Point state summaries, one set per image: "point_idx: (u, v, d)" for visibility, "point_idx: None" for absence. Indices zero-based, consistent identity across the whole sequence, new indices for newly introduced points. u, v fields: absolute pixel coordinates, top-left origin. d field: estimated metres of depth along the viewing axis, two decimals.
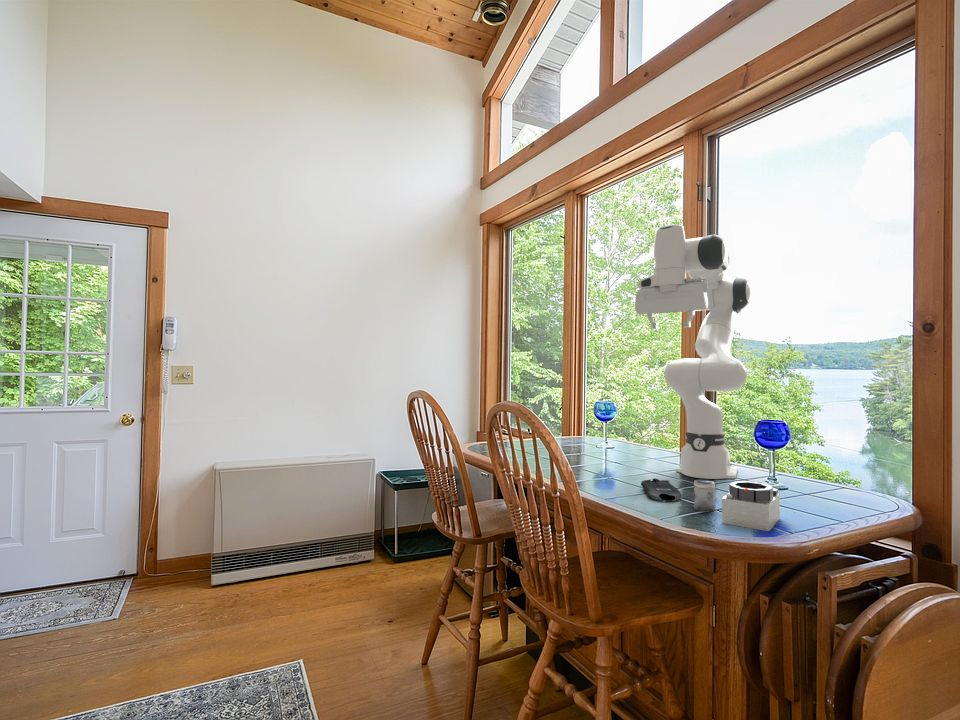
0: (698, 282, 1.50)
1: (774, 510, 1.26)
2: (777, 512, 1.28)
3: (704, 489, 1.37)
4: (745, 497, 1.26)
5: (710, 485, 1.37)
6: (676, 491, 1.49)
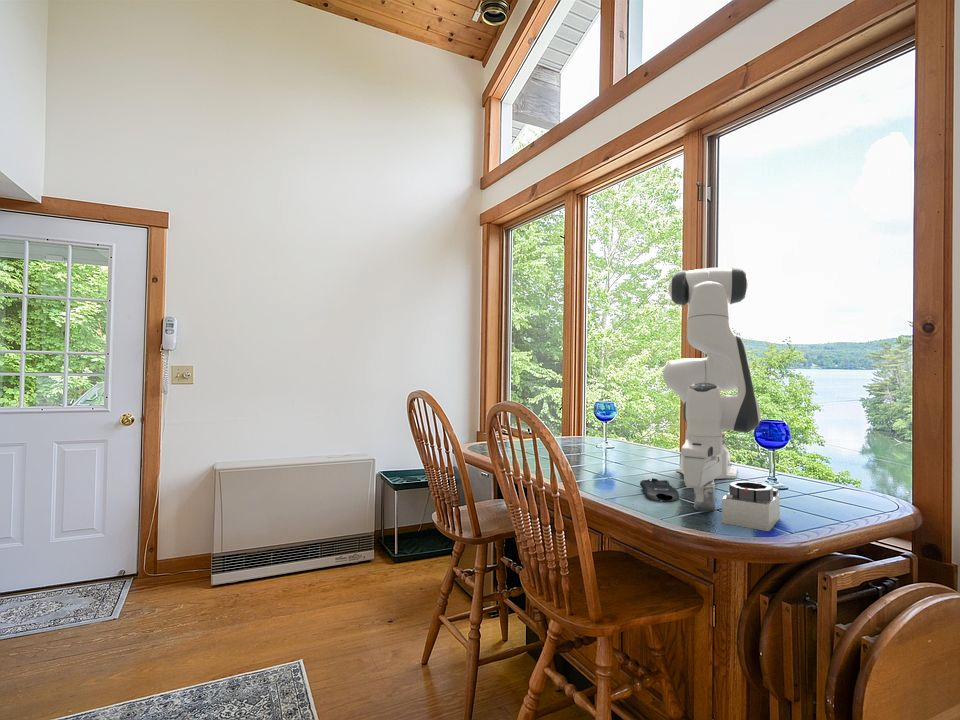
0: None
1: (774, 510, 1.26)
2: (777, 512, 1.28)
3: (704, 489, 1.37)
4: (745, 497, 1.26)
5: (710, 485, 1.37)
6: (674, 491, 1.49)
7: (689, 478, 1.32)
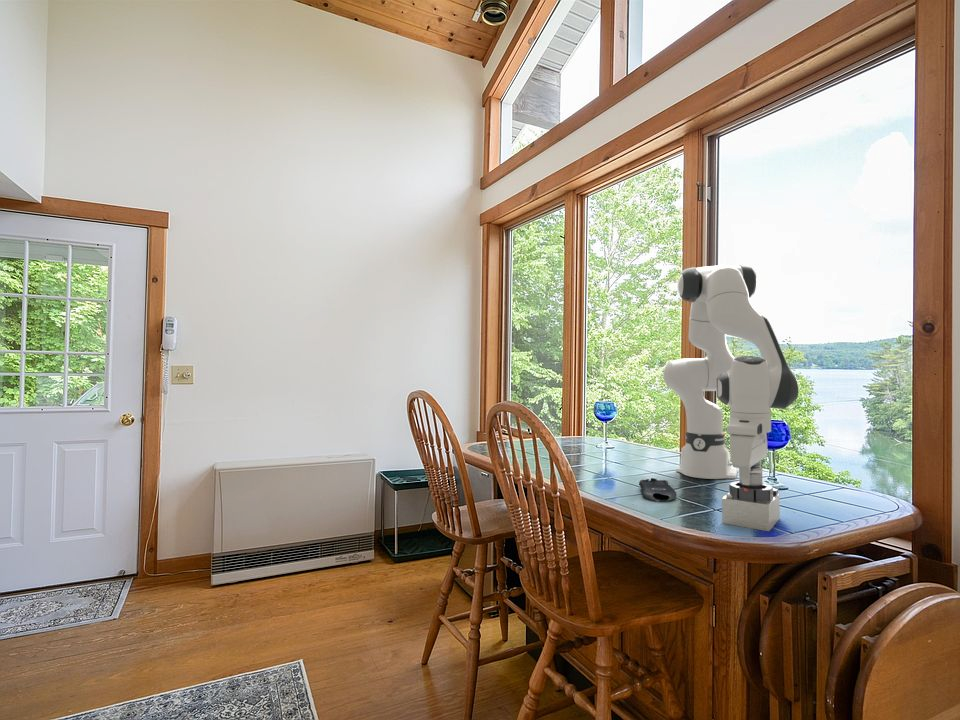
0: None
1: (774, 510, 1.26)
2: (777, 512, 1.28)
3: (752, 475, 1.27)
4: (745, 497, 1.26)
5: (758, 470, 1.26)
6: (671, 491, 1.49)
7: (736, 458, 1.22)
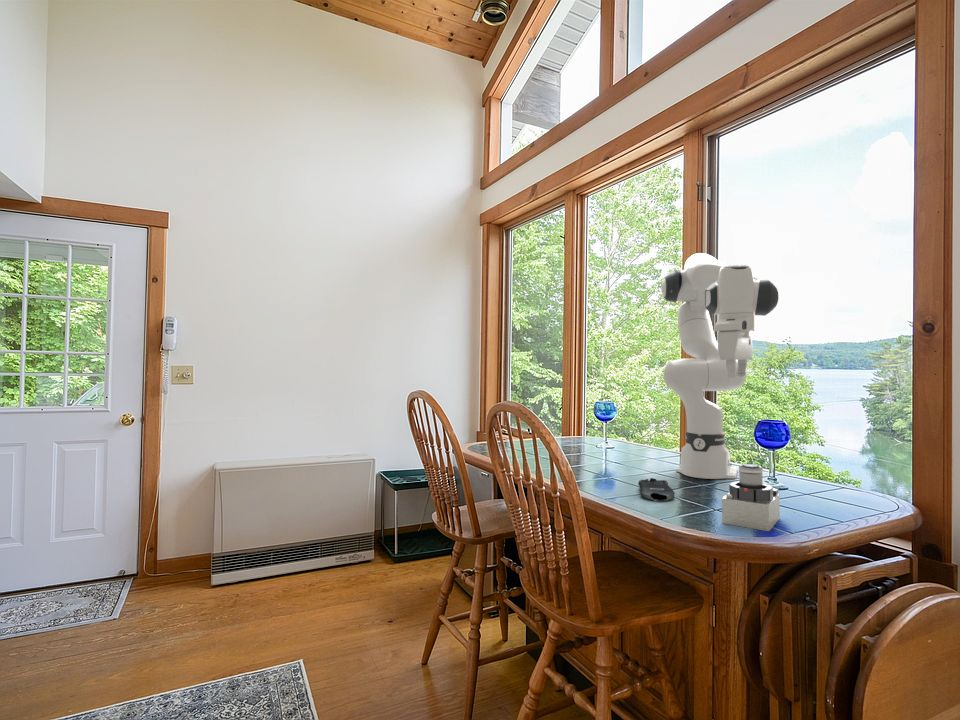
0: None
1: (774, 510, 1.26)
2: (777, 512, 1.28)
3: (751, 475, 1.27)
4: (745, 497, 1.26)
5: (758, 470, 1.26)
6: (669, 491, 1.49)
7: (723, 350, 1.35)
